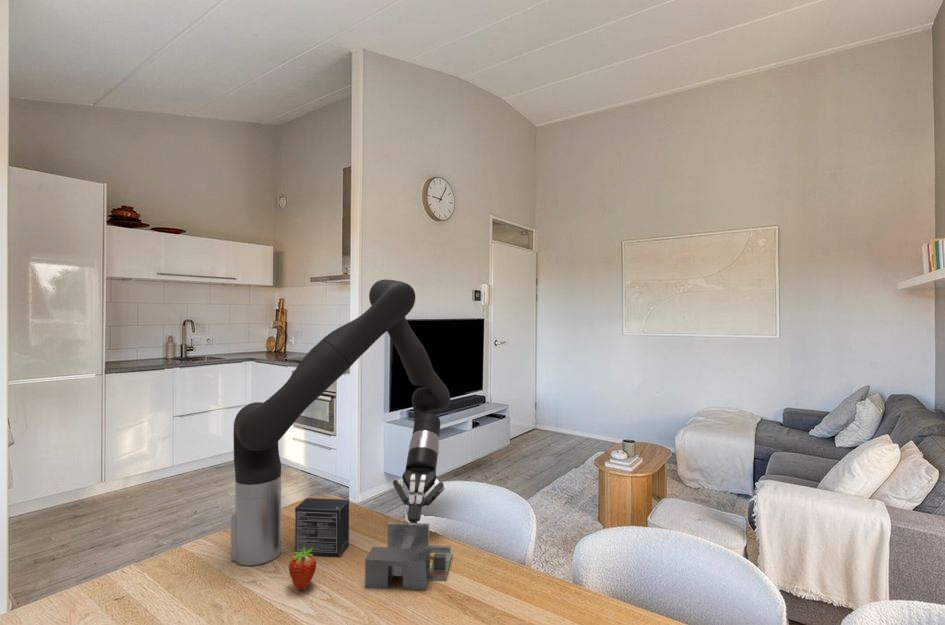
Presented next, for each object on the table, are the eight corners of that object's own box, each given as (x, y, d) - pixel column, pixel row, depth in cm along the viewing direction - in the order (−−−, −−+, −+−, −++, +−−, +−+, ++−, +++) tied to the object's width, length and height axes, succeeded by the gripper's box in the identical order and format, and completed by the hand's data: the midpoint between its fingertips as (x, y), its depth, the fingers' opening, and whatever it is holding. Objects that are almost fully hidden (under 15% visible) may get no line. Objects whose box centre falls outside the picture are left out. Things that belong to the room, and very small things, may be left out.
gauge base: (365, 587, 94) (365, 559, 94) (383, 551, 107) (383, 527, 107) (443, 591, 92) (443, 563, 92) (452, 554, 106) (452, 530, 106)
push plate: (375, 581, 95) (375, 546, 95) (388, 553, 106) (388, 521, 106) (443, 584, 94) (444, 549, 94) (450, 556, 105) (450, 524, 105)
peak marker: (433, 568, 99) (433, 557, 99) (434, 564, 100) (434, 553, 100) (445, 568, 98) (445, 557, 98) (446, 565, 100) (446, 554, 100)
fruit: (283, 588, 93) (283, 547, 93) (307, 577, 97) (307, 538, 97) (297, 599, 90) (297, 557, 90) (322, 587, 94) (322, 546, 93)
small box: (350, 543, 111) (350, 498, 111) (340, 557, 105) (340, 510, 105) (306, 540, 112) (306, 496, 112) (293, 555, 106) (293, 507, 106)
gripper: (395, 444, 120) (381, 514, 108) (447, 446, 119) (440, 517, 107) (400, 459, 125) (387, 527, 113) (450, 460, 124) (443, 529, 112)
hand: (413, 522), depth 110 cm, fingers closed
